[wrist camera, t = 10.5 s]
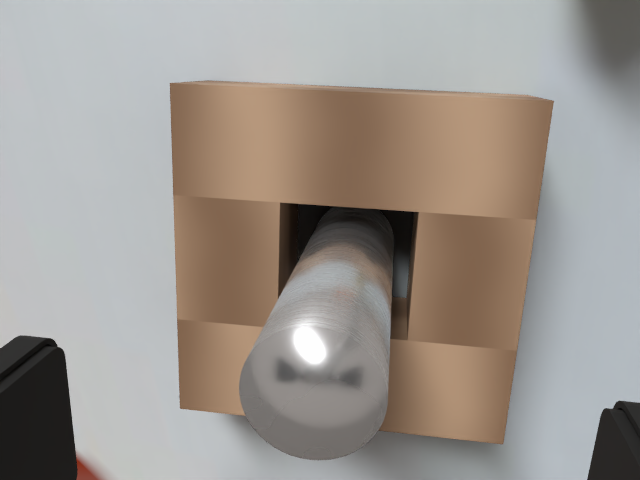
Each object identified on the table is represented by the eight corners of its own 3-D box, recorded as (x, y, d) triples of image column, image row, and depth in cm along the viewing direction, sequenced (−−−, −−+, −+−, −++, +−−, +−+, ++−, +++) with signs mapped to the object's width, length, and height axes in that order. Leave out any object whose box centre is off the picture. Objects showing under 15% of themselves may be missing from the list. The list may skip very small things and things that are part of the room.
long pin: (396, 204, 23) (393, 333, 12) (390, 280, 24) (382, 468, 13) (316, 199, 24) (238, 319, 12) (313, 274, 25) (238, 451, 13)
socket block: (526, 94, 22) (553, 100, 18) (487, 387, 25) (503, 444, 21) (208, 80, 23) (169, 83, 19) (211, 359, 26) (180, 408, 23)
